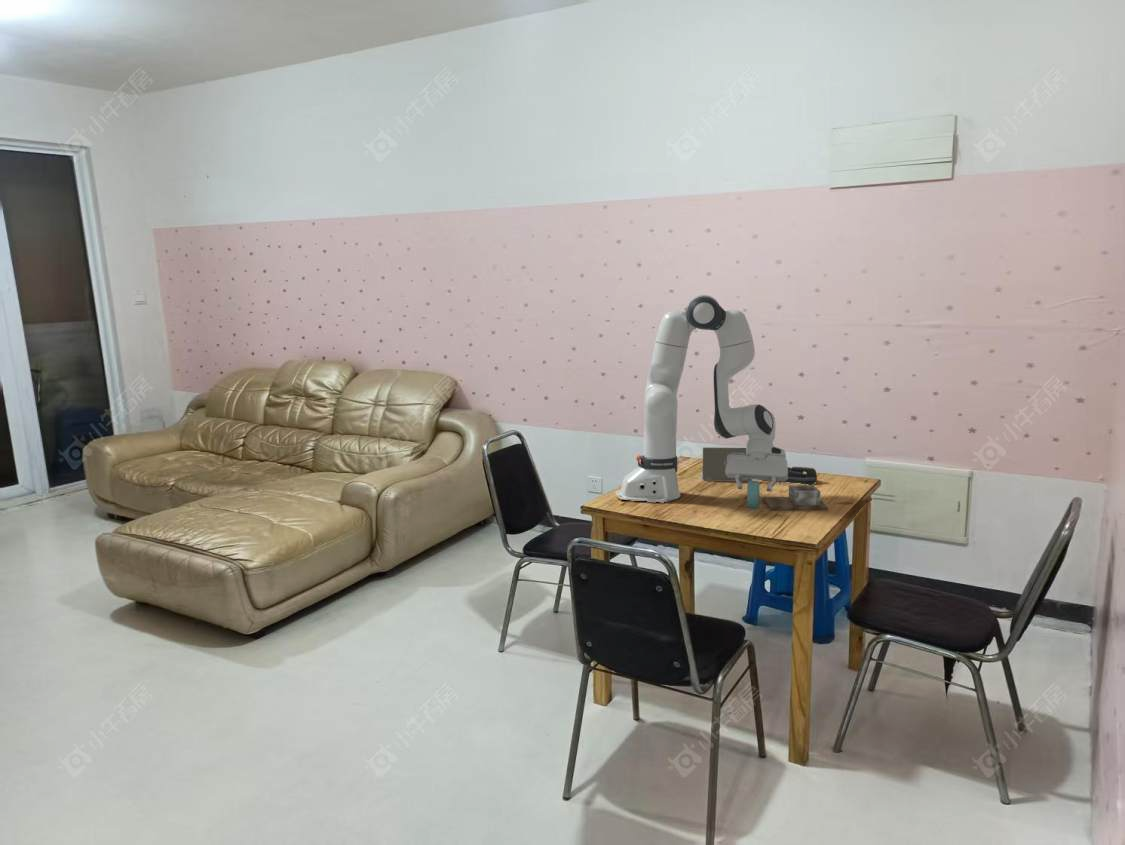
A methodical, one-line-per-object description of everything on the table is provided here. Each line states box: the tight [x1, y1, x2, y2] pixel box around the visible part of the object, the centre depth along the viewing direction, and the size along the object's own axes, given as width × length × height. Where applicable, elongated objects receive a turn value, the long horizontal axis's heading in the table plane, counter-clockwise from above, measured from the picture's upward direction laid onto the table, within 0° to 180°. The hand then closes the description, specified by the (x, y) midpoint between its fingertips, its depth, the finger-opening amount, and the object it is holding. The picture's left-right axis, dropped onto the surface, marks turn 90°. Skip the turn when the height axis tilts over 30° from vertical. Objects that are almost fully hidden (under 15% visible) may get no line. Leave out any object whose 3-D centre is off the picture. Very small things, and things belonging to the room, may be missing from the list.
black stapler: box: [777, 466, 818, 485], centre depth 283 cm, size 9×7×25 cm
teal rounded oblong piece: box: [746, 480, 761, 510], centre depth 249 cm, size 4×4×8 cm
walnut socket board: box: [762, 484, 829, 512], centre depth 250 cm, size 18×12×6 cm, turn 88°
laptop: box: [700, 446, 753, 482], centre depth 289 cm, size 18×12×13 cm
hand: (754, 489), depth 249 cm, fingers open, 8 cm apart
